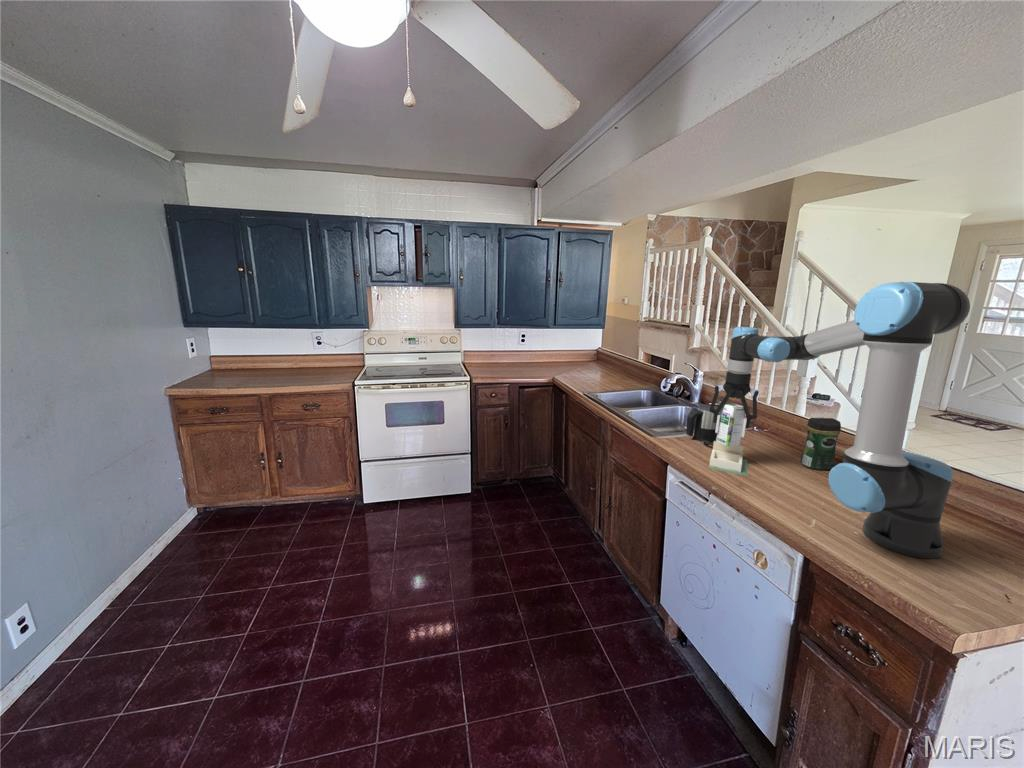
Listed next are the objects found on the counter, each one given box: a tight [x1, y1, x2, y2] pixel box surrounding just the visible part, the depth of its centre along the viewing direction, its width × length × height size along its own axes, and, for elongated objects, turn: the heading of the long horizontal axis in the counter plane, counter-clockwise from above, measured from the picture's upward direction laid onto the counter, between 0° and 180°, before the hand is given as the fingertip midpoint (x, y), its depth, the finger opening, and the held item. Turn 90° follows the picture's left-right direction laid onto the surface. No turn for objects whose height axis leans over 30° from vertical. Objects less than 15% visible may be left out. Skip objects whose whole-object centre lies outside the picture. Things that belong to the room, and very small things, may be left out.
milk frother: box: [685, 403, 721, 447], centre depth 171 cm, size 14×16×15 cm
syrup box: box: [716, 402, 746, 446], centre depth 147 cm, size 6×6×14 cm
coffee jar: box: [800, 417, 842, 471], centre depth 149 cm, size 10×8×19 cm
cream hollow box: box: [708, 441, 745, 472], centre depth 150 cm, size 11×10×6 cm
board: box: [708, 458, 749, 477], centre depth 150 cm, size 16×12×1 cm
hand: (729, 433), depth 148 cm, fingers closed on syrup box, 8 cm apart
